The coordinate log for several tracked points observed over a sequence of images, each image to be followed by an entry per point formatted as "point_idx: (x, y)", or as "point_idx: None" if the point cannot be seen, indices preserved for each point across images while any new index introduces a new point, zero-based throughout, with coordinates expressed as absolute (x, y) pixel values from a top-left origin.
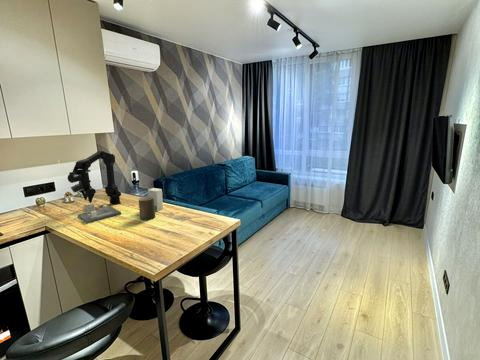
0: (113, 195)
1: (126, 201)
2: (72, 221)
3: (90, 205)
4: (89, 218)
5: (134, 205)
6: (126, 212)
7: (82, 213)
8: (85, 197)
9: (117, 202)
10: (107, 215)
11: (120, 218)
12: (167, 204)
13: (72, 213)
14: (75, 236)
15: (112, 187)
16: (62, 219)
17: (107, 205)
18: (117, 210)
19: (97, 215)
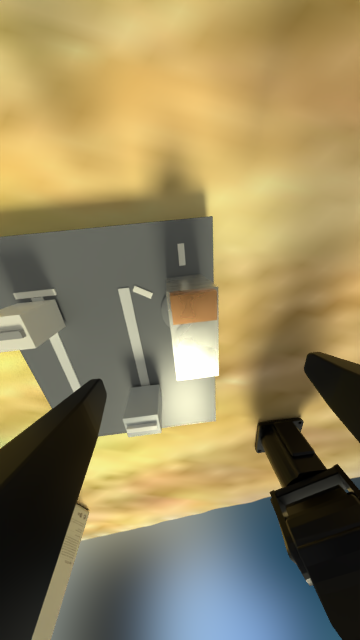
0: (312, 490)
1: (263, 465)
2: (123, 151)
3: (174, 351)
4: (25, 277)
5: (178, 475)
6: (96, 443)
7: (204, 259)
8: (346, 392)
9: (263, 447)
10: (38, 382)
11: (10, 412)
12: (102, 535)
13: (336, 204)
14: None
15: (344, 635)
16: (253, 70)
17: (135, 435)
18: (107, 432)
19: (73, 337)
